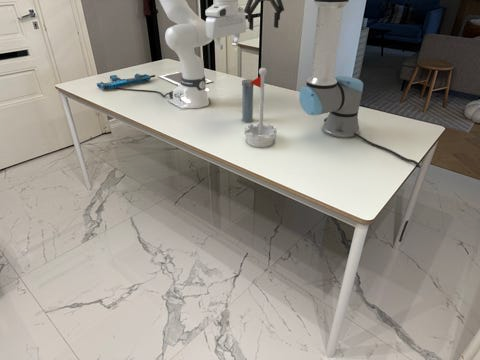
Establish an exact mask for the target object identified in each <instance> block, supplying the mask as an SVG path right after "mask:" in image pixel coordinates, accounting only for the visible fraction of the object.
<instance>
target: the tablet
mask: <svg viewBox="0 0 480 360" xmlns="http://www.w3.org/2000/svg"><path fill="white" fill-rule="evenodd" d="M157 77H158V78H159V79H162V80H165V81H167V82H169V83H172V84H174V85H176V86H178V85H179V84H181V80H179V79H181V78H180V77H182V70H180V71H175V72H171V73H167V74H163V75H157ZM210 83H214V81H213V80H211V79H208V78H206V84H210ZM206 84H205V85H206Z"/></svg>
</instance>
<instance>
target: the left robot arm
mask: <svg viewBox="0 0 480 360" xmlns="http://www.w3.org/2000/svg"><path fill="white" fill-rule="evenodd" d="M158 1H159V3H160V5H161V8H162V9H163V11H164V13H165V14H166V17H167V19H169V21H171V22H173V23H175V24H174V25H172V26H170V27H168V28H167V29H166V31H165V34H164V40H165V43H166V45H167V46H168V47H169V49H171V50H172V51H174V52H175V54H176V55H177V57H178V60H179V62H180V67H181V68H180V69H181V71H182V77H180V78H181V79H179V80H181V84H179V85H176V87H175V88H174V89H173V90H171V91H169V92H167V93H165V94H163V93H162V92H161V91H157V90H148V89H138V88H137V89H136V88H135V89H134V88H125V87H117V88H116V89H115V90H123V91H135V92H146V93H147V92H148V93H158V94H160V96H162V97H164V98H165V97H166V96H169V98H168V102H169V103H171V104H173V105H175V106H176V107H178V108H180V109H182V110H185V109H186V110H187V109H201V108H205V107H207V106H208V105H210V101H209V100H210V98H209V97H208V91H209V88H207V85H206V79H207V78H206V75H205V65H204V62H205V61H204V60H203V58H202V57H201V56H198V55H197V54H196V52H195V48H199V47H203V46H206V45H208V44H210V43H211V42H212V41H214V43H215V45H216V50H217V51H222V50H223V48H224V47H223V45H224V44H222V43H221V41H222V40H221V38H225V37H230V36H233V40H232V41H231V43H232V44H231V45H232V46H234V47H237V46H238V45H239V40H240V37H241V34H244V33H246V31H247V20H246V15H245V14H246V13H244V8H243V7H241V6H240V7H239V0H214V3H213V4H211V6H209V7H207V8H206V9H205V16H206V18H205V20H204V19H202V17H200V16H198V15H197V14H196V13H195V12H194V11H193V9H192V8H191V6H189V3H188V2H187V0H158ZM100 83H104V82H103V81H100Z"/></svg>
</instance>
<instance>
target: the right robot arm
mask: <svg viewBox="0 0 480 360" xmlns="http://www.w3.org/2000/svg"><path fill="white" fill-rule="evenodd" d="M265 1H267V2H268V1H269V2H270V4H271V6H272V7H273V9H274V10H275V11H276V12H274V15H273V16H274V18H273V28H275V29H278V28H279V21H280V20H281V14H282V12H284V11H285V8H284V3H283V1H282V0H247V2H246V4H245V6H244V8H243V10H244V14H247V22H248V29H249V30H250V31H254V14H253V13H254V12H255V10H256V9H257V7H258V6H259V4H260V3H261V2H265ZM313 2H314V3H315V5H316V7H317V13H316V23H315V24H316V25H315V32H314V42H313V43H314V45H313V52H312V53H313V54H312V64H311V73H310V74H311V75H310V76H309V77H307V78H306V84H305V86H303V87H302V88H301V89H300V90H299V94H298V99H299V104H300V106H301V108H302V110H303V112H304V113H305V114H307V115H308V116H321V115H324V114H328V115H327V117H325V118H324V119H323V126H322V130H323V132H324V133H325V134H326V135H329V136H332V137H335V138H339V139H341V138H342V139H349V138H354V137H357V138H358V139H361V140H362V141H364V142H366V143H367V144H369V145H371V146H373V147H376V148H378V149H381V150H384V151H386V152H389V153H391V154H393V155H395V156H396V157H398V158H400V159H401V160H404V161H405V162H409V163H413V164H414V165H415V166H416V167H417V168H419V169H421V165H420V163H419V162H418V161H416V160H414V159H410V158H407V157H405V156H404V155H401V154H399V153H397V152H395V151H394V150H392V149H389V148H387V147H385V146H382V145H379V144H377V143H375V142H372V141H370V140H368V139H367V138H365V137H363V136H361V135H360V134H359V132H360V125H359V118H358V117H359V116H358V114H359V111H360V110H359V109H360V105H361V101H362V96H363V92H364V91H363V89H364V82H363V81H362V80H361V79H359V78H356V77H353V76H346V75H336V76H335V70H336V62H337V57H338V56H337V55H338V48H339V41H340V34H341V28H342V19H343V12H344V7H345V6H346V5H347V4H348V3H349V2H350V0H313ZM409 221H410V220H405V222H404V225H403V227H402V231H401V233H400V236H399V239H398V242H399V243H402V241H403V237H404V235H405V232H406V229H407V226H408V224H409Z"/></svg>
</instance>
